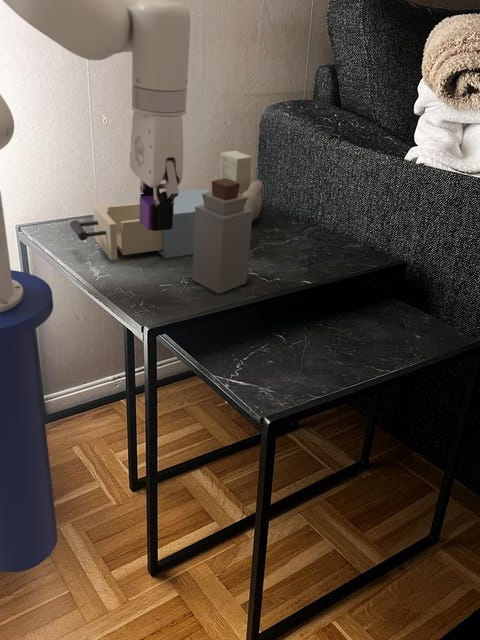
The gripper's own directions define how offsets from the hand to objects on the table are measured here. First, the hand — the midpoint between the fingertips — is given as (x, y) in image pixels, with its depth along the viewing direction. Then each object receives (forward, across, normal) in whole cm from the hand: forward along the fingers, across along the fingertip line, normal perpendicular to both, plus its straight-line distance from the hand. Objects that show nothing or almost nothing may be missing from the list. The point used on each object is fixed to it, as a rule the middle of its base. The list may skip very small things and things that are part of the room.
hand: (155, 222), depth 94 cm
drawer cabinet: (+13, -20, +14) cm, 28 cm away
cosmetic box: (+13, -37, +33) cm, 51 cm away
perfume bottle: (+13, -2, +13) cm, 19 cm away
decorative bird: (+13, -27, +31) cm, 43 cm away
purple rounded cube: (0, 0, 0) cm, 0 cm away
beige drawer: (+13, -20, +1) cm, 24 cm away
